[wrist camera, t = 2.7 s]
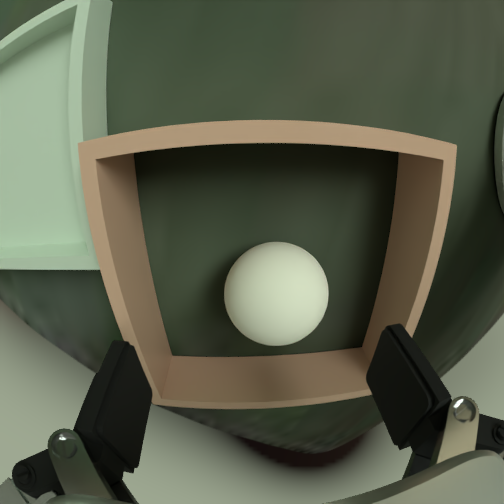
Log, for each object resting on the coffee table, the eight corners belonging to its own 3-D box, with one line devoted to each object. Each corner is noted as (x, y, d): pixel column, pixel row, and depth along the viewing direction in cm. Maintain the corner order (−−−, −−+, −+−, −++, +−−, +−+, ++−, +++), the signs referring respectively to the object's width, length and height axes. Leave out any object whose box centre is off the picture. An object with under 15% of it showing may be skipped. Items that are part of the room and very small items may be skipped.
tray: (112, 2, 8) (93, -13, 6) (123, 249, 15) (105, 269, 12) (-31, 85, 8) (-51, 87, 6) (-13, 254, 14) (-30, 268, 12)
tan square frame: (411, 137, 12) (456, 145, 8) (368, 352, 19) (386, 391, 15) (119, 137, 12) (77, 142, 8) (164, 362, 18) (153, 404, 15)
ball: (318, 226, 14) (350, 271, 10) (311, 303, 16) (331, 362, 12) (224, 228, 14) (215, 276, 10) (229, 306, 16) (225, 369, 12)
